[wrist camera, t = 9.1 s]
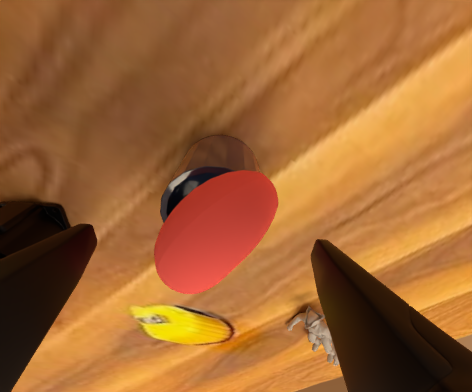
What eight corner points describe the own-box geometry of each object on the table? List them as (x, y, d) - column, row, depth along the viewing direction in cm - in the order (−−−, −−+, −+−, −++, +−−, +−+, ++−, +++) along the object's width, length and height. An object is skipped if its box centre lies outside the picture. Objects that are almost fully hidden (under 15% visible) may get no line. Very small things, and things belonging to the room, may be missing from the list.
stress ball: (143, 199, 16) (119, 292, 13) (226, 133, 10) (218, 271, 7) (201, 220, 19) (193, 300, 16) (289, 178, 14) (303, 289, 10)
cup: (254, 205, 24) (261, 257, 17) (185, 201, 23) (165, 252, 17) (262, 137, 20) (275, 170, 14) (180, 132, 20) (153, 163, 13)
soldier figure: (295, 338, 38) (272, 326, 30) (308, 311, 40) (288, 293, 31) (342, 372, 33) (329, 369, 25) (354, 340, 35) (346, 327, 26)
